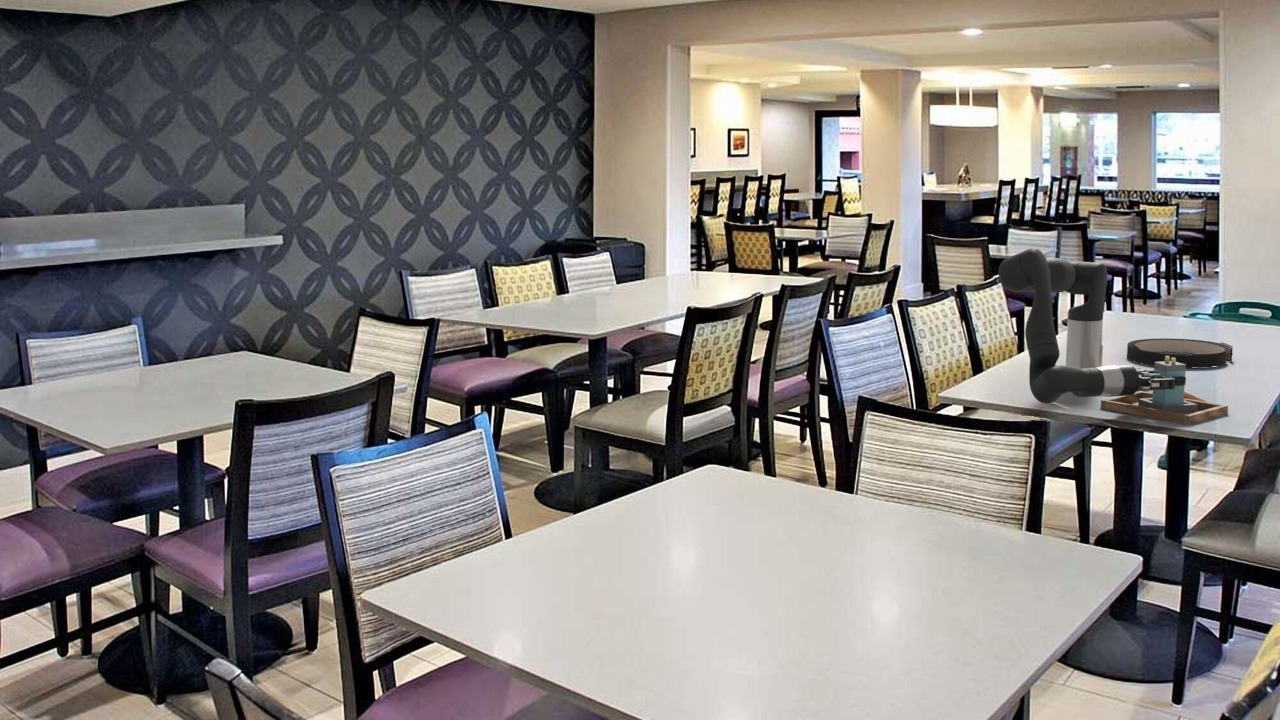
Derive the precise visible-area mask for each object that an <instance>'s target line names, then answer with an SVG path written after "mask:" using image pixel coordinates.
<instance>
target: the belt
mask: <svg viewBox="0 0 1280 720" xmlns="http://www.w3.org/2000/svg"><path fill="white" fill-rule="evenodd" d="M1126 345H1127V348H1126V349H1127V350H1126V358H1127V359H1128V360H1129V359H1130V360H1129V361H1131V360H1132V361H1131V362H1133V361H1135V362H1134V363H1136V362H1138V364H1140V363H1143V364H1142V365H1145V364H1149V365H1148V366H1151V365H1154V364H1155V362H1163V361H1165V356H1170V360H1169V361H1171V358H1176V362H1179V363H1182V364H1186V369H1193V368H1192V367H1212V366H1219V365H1223V364H1225V363H1226V362H1227V361H1228V360H1229V361H1232V360H1233V355H1234V353H1233V349H1234V348H1233V346H1234V345H1232V344H1230V343H1229V342H1225V341H1220V342H1214V341H1209V340H1201V339H1200V340H1199V339H1187V338H1145V339H1136V340H1131V341H1129V342H1128V343H1127V344H1126ZM1157 351H1168V352H1157ZM1179 352H1186V353H1184V354H1183V353H1179ZM1192 353H1200V354H1192ZM1226 359H1228V360H1226ZM1229 361H1228V362H1229ZM1225 365H1226V364H1225ZM1223 366H1224V365H1223ZM1219 367H1220V366H1219Z"/></svg>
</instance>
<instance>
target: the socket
mask: <svg viewBox="0 0 1280 720" xmlns="http://www.w3.org/2000/svg"><path fill="white" fill-rule="evenodd" d="M1138 406H1142V407H1148V408H1153V409H1159V410H1164V411H1170V412H1176V413H1181V414H1187V415H1188V414H1192V413H1195V412H1197V409H1198V404H1195V403H1192V402H1188V401H1185V400H1184V402H1183V404H1178V405H1161V404H1158V403H1155V402H1152V398H1142V399H1139V402H1138Z"/></svg>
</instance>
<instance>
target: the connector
mask: <svg viewBox="0 0 1280 720" xmlns="http://www.w3.org/2000/svg"><path fill="white" fill-rule="evenodd" d="M1169 360H1170V356H1165V361H1163V362H1155V364H1154V366H1153V370H1154V374H1161V375H1162V376H1167V377H1169V376H1171V377H1176V376H1184V377H1186V372H1187V371H1186V370H1187V368H1186V364H1182V363H1179V362H1176V358H1171V361H1169ZM1155 378H1156V379H1158V377H1155ZM1166 384H1167V382H1166ZM1185 386H1186V384H1185V385H1184V386H1174V389H1163V390H1152V393H1153V397H1152V402H1155V403H1158V404H1161V405H1178V404H1183V402H1184V392H1185Z"/></svg>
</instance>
